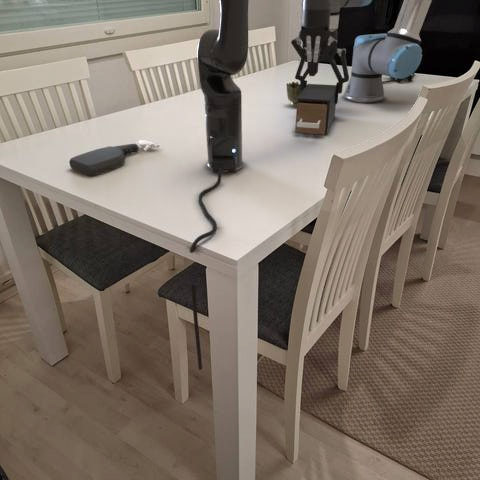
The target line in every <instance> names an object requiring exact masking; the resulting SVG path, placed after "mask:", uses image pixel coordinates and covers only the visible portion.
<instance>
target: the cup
mask: <svg viewBox="0 0 480 480" xmlns="http://www.w3.org/2000/svg"><path fill="white" fill-rule="evenodd" d="M301 92H302V91H300V83H299V82H298V81H296V82H295V81H292V82H289V83H288V82H287V83H286V96H287V99H288V101H289V102H290V106H291V107H294V108H295V107H296V108H297V98H298V96H299V95H300V94H301Z"/></svg>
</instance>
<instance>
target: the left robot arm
mask: <svg viewBox="0 0 480 480" xmlns="http://www.w3.org/2000/svg"><path fill="white" fill-rule="evenodd" d="M301 1H302V2H301V23H300V30H299V32H298V35H297V37H295V38H293V39H292V40H291V41H290V43H291V45H292V47H293V48H294V50H295V51H296V53H297V54H298V56H299V57H300V60H301V59H303V60H305V62H307V67H306V69H307V73H308V76H309V77H315V76H316V75H317V74H318V73H319V63H320V62H319V61H321V60H324V59H325V57H326V56H327V55H328V54H329V53H330V51H331V50H332V49H333V48H334V47H335V45H336V44H338V39H337V40H335V39H334V38H332V37H331V32H330V30H329V25H330V12H331V0H301ZM249 2H250V1H249V0H219V6H220V21H219V29H217V28H216V29H213V28H212V29H208V30H206V31H205V32H203V33H202V34H201V36H200V37H199V39H198V42H197V49H196V57H197V59H196V61H197V69H198V78H199V85H200V89H201V92H202V94H203V99H204V100H203V101H204V116H205V117H204V118H205V133H206V134H205V135H206V151H207V152H206V153H207V168H208V169H209V170H211V172H212V173H217V180H216V182H215V183H214V185H212V186H210V187H208V188H205V189H204V190H202V191H201V192H200V193H199V195H198V204H199V206H200V207H201V209H202V211H203V213H204V215H205V216H206V218H207V219H208V220H209V221H210V222H211V224H212V229H211V230H210V231H207V232H205V233H203V234H200V235H199V236H198V237H196V238H195V239H194V240H193V242H192V244H191V246H190V249H189V253H190V254H193V253H194V252H195V249H196V247H197V245H198V244H199V243H200V242H201V241H202V240H204V239H206V238H209V237H210V236H212V235H214V234H215V233H216V232H217V229H218V224H217V222H216V220H215V218H214V217H213V216H212V215H211V214H210V213H209V212H208V209H207V206H206V205H205V203H204V201H203V197H204V195H205V194H208V193H209V192H212V191H213V190H215V189H217V188H218V186H219V185H220V184H221V181H222V173H237V171H239V170H240V169H242V168H243V166H244V162H243V161H244V160H243V114H242V113H243V109H242V108H243V106H242V105H243V104H242V103H243V102H242V101H243V100H242V99H243V98H242V96H243V95H242V89H241V88H240V87H239V86H238V85H237V84H236V82H235V81H234V79H233V78H232V76H235V75H238V74H240V73H241V72H242V71H243V69H244V67H245V65H246V63H247V59H248V54H249ZM327 40H329V42H328V46H329V47H328V48H327V49H326V50H325V52H324V53H323V54H322V55H320V49H321V48H322V47H323V45H324V44H325V43H326V41H327ZM302 43H303V45H304V47H306V48H307V54H306V53H305V51H304V50H303V48H304V47H302V45H301V44H302ZM313 48H315V49H314V56H313ZM313 58H314V59H313ZM191 298H192V299H191V301H192V312H193V325H194V335H195V336H194V337H195V344H196V345H195V346H196V354H197V364H198V365H197V367H198V370H200V371H201V370H202V369H203V363H202V361H203V360H202V351H201V339H200V331H199V329H200V328H199V319H198V307H197V306H198V305H197V304H198V303H197V287H196V285H194V284H191Z"/></svg>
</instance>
